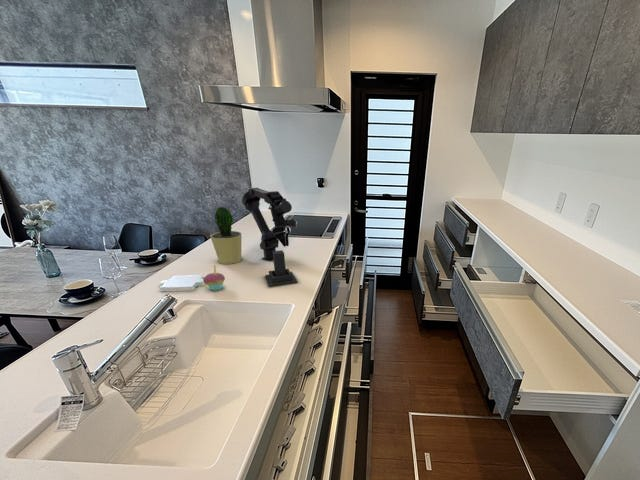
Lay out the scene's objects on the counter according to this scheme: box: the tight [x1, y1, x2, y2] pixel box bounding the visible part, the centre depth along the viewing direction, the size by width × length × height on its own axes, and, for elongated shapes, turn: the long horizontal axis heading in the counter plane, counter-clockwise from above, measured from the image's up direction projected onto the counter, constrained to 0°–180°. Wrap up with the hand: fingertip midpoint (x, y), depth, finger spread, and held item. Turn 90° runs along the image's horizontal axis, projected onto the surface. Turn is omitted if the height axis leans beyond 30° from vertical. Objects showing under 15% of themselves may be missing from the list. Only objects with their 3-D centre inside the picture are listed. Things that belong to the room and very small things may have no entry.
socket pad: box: [264, 268, 298, 288], centre depth 145 cm, size 13×13×4 cm
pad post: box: [272, 249, 287, 277], centre depth 143 cm, size 4×4×13 cm
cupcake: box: [203, 264, 226, 291], centre depth 133 cm, size 9×8×12 cm
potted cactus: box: [209, 206, 242, 265], centre depth 162 cm, size 15×15×30 cm
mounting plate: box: [159, 274, 206, 292], centre depth 137 cm, size 18×13×2 cm
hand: (286, 246), depth 157 cm, fingers open, 9 cm apart
